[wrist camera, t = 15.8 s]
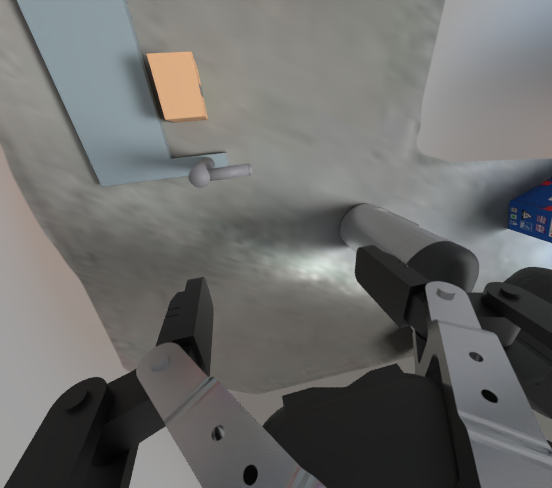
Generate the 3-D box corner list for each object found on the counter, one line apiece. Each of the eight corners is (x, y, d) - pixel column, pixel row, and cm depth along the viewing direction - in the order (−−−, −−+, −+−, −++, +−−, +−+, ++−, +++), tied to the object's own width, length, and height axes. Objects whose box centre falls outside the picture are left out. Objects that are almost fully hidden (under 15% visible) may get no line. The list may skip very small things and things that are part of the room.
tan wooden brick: (197, 67, 29) (192, 51, 23) (208, 119, 31) (205, 116, 26) (160, 69, 28) (145, 53, 23) (174, 122, 31) (164, 119, 26)
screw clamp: (211, -60, 24) (198, -249, 12) (245, 167, 35) (256, 182, 23) (-4, -65, 21) (-292, -318, 9) (106, 184, 32) (38, 212, 20)
